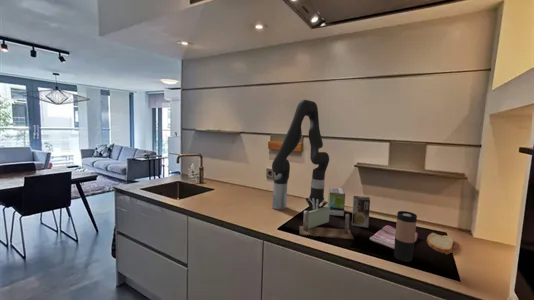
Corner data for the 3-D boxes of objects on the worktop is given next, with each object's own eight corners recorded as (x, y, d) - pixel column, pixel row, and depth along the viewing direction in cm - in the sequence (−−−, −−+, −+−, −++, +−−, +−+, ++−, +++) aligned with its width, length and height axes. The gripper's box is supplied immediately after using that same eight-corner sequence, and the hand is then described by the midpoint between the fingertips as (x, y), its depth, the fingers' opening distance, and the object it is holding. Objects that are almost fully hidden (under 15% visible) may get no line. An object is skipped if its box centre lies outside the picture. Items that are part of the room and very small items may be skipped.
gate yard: (299, 234, 135) (300, 214, 134) (299, 227, 145) (300, 207, 144) (353, 239, 132) (355, 218, 131) (349, 231, 142) (350, 211, 141)
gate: (308, 229, 140) (309, 212, 139) (306, 228, 141) (306, 211, 140) (329, 221, 151) (330, 206, 150) (326, 220, 152) (327, 205, 151)
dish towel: (418, 239, 137) (419, 232, 136) (405, 254, 120) (405, 246, 119) (384, 229, 148) (385, 223, 148) (368, 241, 131) (368, 234, 131)
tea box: (344, 216, 165) (345, 193, 163) (327, 214, 167) (329, 192, 165) (342, 209, 179) (343, 187, 178) (327, 207, 181) (328, 186, 180)
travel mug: (389, 253, 119) (393, 210, 117) (405, 253, 119) (410, 210, 117) (399, 262, 111) (404, 217, 109) (416, 262, 112) (421, 217, 110)
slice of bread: (444, 256, 119) (445, 248, 119) (413, 238, 136) (414, 231, 136) (474, 252, 124) (475, 245, 123) (441, 236, 141) (441, 229, 141)
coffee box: (367, 223, 154) (370, 197, 152) (368, 228, 147) (370, 200, 146) (351, 221, 156) (353, 195, 155) (351, 225, 150) (353, 198, 149)
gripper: (304, 185, 150) (302, 214, 152) (326, 190, 144) (324, 220, 146) (309, 183, 157) (307, 211, 159) (330, 187, 150) (328, 216, 152)
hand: (315, 215), depth 152 cm, fingers closed
